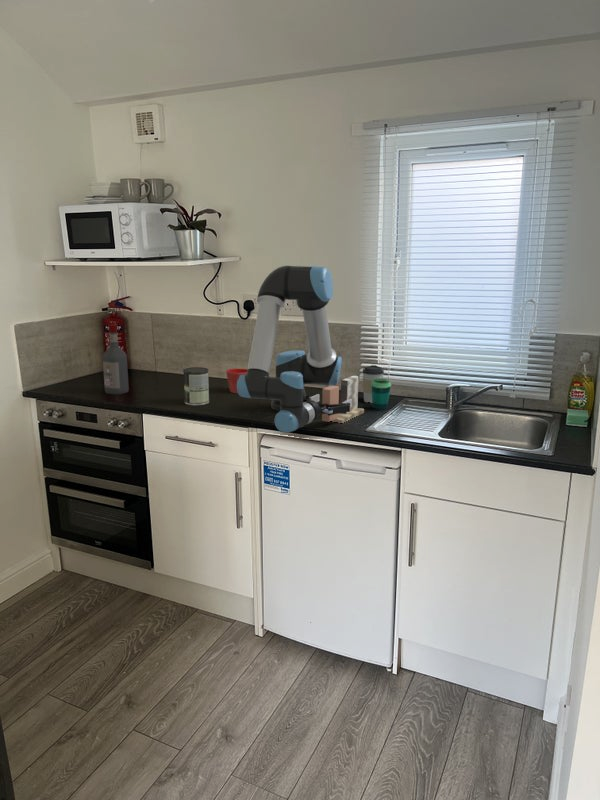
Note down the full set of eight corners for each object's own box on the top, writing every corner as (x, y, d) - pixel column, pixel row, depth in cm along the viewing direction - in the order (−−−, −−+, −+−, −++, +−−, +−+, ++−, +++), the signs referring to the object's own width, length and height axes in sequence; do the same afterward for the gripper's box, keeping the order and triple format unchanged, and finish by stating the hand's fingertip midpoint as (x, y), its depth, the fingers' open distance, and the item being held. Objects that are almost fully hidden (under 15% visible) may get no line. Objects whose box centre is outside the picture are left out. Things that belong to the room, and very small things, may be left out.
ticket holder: (342, 423, 230) (343, 385, 226) (323, 420, 233) (324, 383, 230) (363, 412, 245) (365, 377, 242) (345, 409, 249) (347, 374, 246)
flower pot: (247, 388, 285) (246, 367, 283) (252, 393, 275) (252, 372, 273) (224, 389, 282) (224, 368, 280) (229, 395, 272) (229, 373, 269)
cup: (390, 406, 255) (392, 378, 252) (389, 411, 247) (390, 382, 244) (371, 405, 257) (372, 377, 254) (369, 410, 249) (370, 381, 246)
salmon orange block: (329, 421, 225) (330, 390, 222) (321, 420, 227) (322, 388, 224) (338, 417, 231) (339, 386, 228) (330, 416, 233) (331, 385, 230)
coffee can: (179, 403, 256) (178, 370, 253) (194, 398, 265) (193, 366, 262) (199, 406, 252) (198, 372, 248) (214, 401, 261) (213, 368, 257)
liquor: (117, 395, 269) (112, 326, 261) (101, 392, 273) (97, 325, 266) (131, 391, 276) (128, 324, 269) (116, 388, 281) (112, 323, 273)
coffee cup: (381, 404, 259) (383, 369, 255) (360, 402, 261) (361, 368, 257) (383, 399, 267) (384, 365, 264) (362, 397, 269) (363, 364, 266)
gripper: (275, 417, 219) (305, 405, 237) (338, 428, 207) (364, 414, 225) (275, 397, 218) (305, 386, 235) (338, 407, 205) (365, 394, 223)
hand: (334, 400), depth 230 cm, fingers open, 13 cm apart
